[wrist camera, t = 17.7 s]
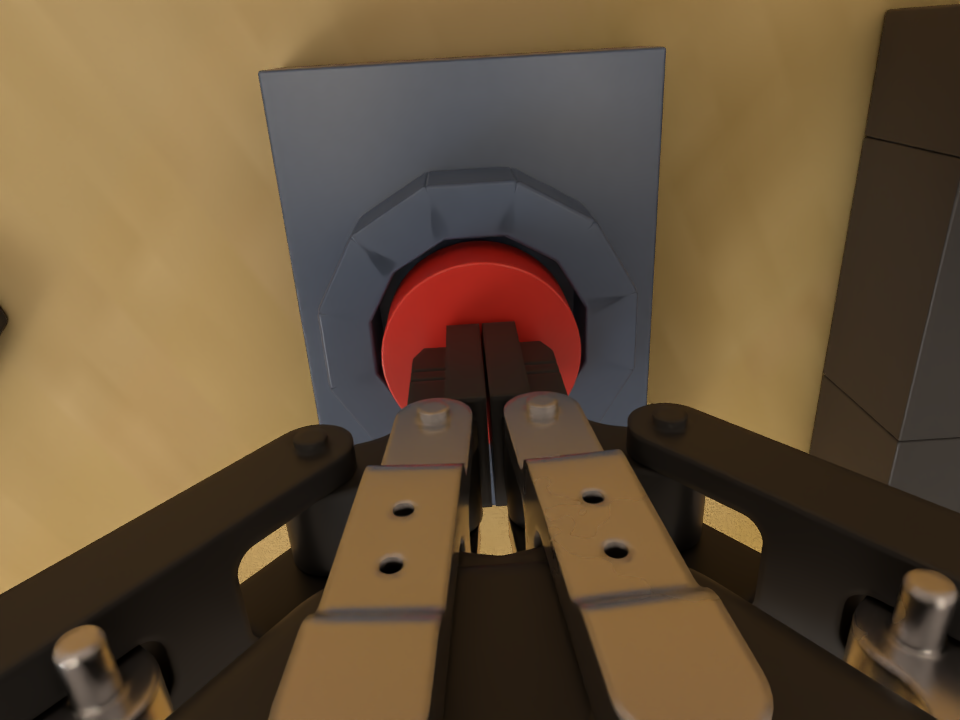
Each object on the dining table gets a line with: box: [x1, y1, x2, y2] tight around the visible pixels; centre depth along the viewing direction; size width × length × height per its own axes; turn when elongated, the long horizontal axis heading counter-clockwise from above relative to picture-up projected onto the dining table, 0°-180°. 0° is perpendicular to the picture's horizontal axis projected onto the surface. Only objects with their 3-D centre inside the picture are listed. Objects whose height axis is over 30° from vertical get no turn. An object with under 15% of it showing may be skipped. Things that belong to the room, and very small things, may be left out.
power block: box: [258, 46, 666, 505], centre depth 18 cm, size 12×9×4 cm
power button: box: [381, 241, 581, 443], centre depth 16 cm, size 4×4×2 cm
